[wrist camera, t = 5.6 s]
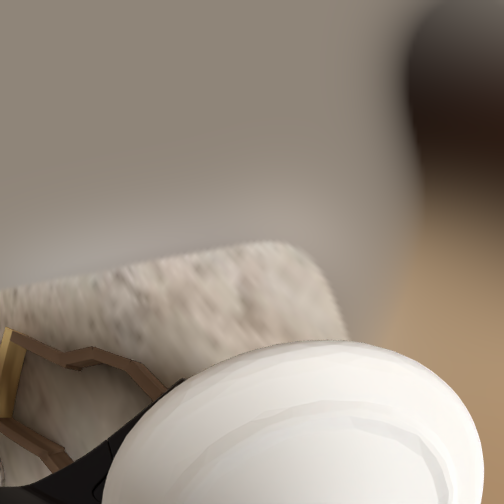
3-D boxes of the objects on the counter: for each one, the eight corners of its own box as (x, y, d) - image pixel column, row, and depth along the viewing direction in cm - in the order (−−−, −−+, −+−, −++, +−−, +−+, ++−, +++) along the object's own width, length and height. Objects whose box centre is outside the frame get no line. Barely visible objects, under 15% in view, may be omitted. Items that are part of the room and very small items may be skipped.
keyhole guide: (165, 512, 16) (158, 525, 13) (2, 434, 16) (-16, 435, 14) (196, 378, 20) (191, 377, 18) (27, 319, 21) (10, 310, 18)
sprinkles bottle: (205, 467, 13) (133, 656, 1) (200, 382, 15) (73, 333, 3) (297, 461, 13) (475, 595, 1) (292, 377, 15) (486, 305, 3)
